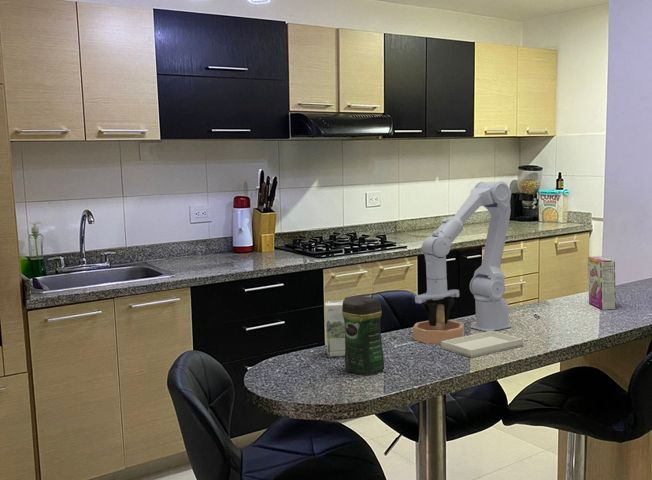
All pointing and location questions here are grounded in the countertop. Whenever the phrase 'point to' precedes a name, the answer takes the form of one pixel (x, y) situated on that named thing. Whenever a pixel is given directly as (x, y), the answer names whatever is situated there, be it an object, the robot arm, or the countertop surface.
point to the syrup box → (335, 328)
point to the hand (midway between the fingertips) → (438, 324)
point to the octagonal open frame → (437, 332)
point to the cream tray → (481, 344)
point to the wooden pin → (440, 318)
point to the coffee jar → (363, 335)
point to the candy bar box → (601, 282)
